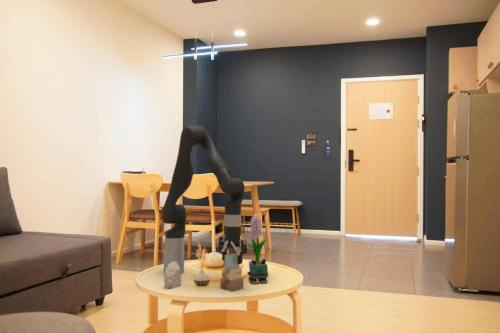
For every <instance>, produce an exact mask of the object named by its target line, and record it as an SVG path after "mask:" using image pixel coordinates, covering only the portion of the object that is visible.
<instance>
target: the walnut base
mask: <svg viewBox="0 0 500 333" xmlns="http://www.w3.org/2000/svg"><path fill="white" fill-rule="evenodd" d="M219 283H220V284H219V286H220V287H219V288H220V290H224V291H229V292H235V291H236V292H237V291H238V290H243V289H244V277H242V278H241V279H237V280H233V281H230V280H227V279H223V278H222V277H221V278H220V281H219Z"/></svg>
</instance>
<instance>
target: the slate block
mask: <svg viewBox="0 0 500 333" xmlns="http://www.w3.org/2000/svg"><path fill="white" fill-rule="evenodd" d="M237 255H238V254H237V253H227V255H225V261H224V267H225V268H228V269H236V268H239V267H240V264H238V263H237Z"/></svg>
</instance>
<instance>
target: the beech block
mask: <svg viewBox="0 0 500 333" xmlns="http://www.w3.org/2000/svg"><path fill="white" fill-rule="evenodd" d="M242 271H243V269H242V267H240V266H239V268H236V269H228V268H225V266H224V267H222V268H221V278H223V279H227V280H230V281H233V280H237V279H241V278H243V277H242V276H243V275H242Z"/></svg>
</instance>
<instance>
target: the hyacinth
mask: <svg viewBox="0 0 500 333" xmlns="http://www.w3.org/2000/svg"><path fill="white" fill-rule="evenodd" d="M249 224H250V232H251V236H252V238H251V243H249V242H246V243H247V245H249V247H251V249H252V250H253V252H254V256H255V259H254V260H255V261H257V262H256V264H258V265H260V264H262V262H261V260H262V259H260V256H261V252H262V249H263V247H264V246H265V243H267V240H266V238H264V239H262V240H261V242H259V238H260V237H262V236H263V231H262V227H263V224H262V219H261V217H260V215H258V214H254V215H253V216H251V219H250V223H249ZM255 239H256V241H255ZM252 264H253V262H252V260H248V267H249V270H250V265H252ZM265 264H267V262H265ZM257 280H258V278H257Z"/></svg>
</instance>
